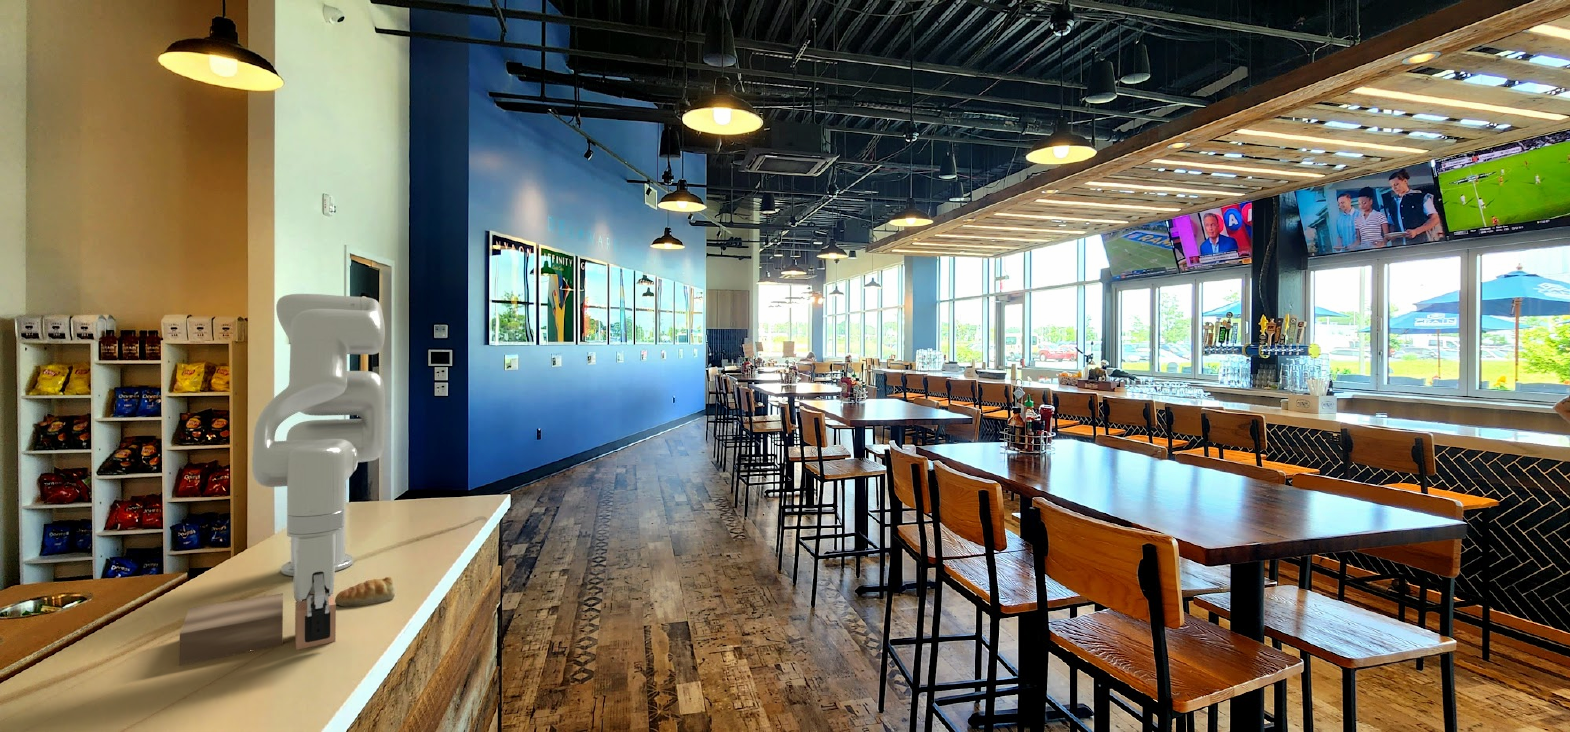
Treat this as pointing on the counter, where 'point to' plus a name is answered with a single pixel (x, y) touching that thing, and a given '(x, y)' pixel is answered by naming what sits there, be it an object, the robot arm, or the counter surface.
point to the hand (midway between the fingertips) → (315, 629)
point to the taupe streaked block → (231, 628)
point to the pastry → (367, 593)
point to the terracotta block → (300, 624)
